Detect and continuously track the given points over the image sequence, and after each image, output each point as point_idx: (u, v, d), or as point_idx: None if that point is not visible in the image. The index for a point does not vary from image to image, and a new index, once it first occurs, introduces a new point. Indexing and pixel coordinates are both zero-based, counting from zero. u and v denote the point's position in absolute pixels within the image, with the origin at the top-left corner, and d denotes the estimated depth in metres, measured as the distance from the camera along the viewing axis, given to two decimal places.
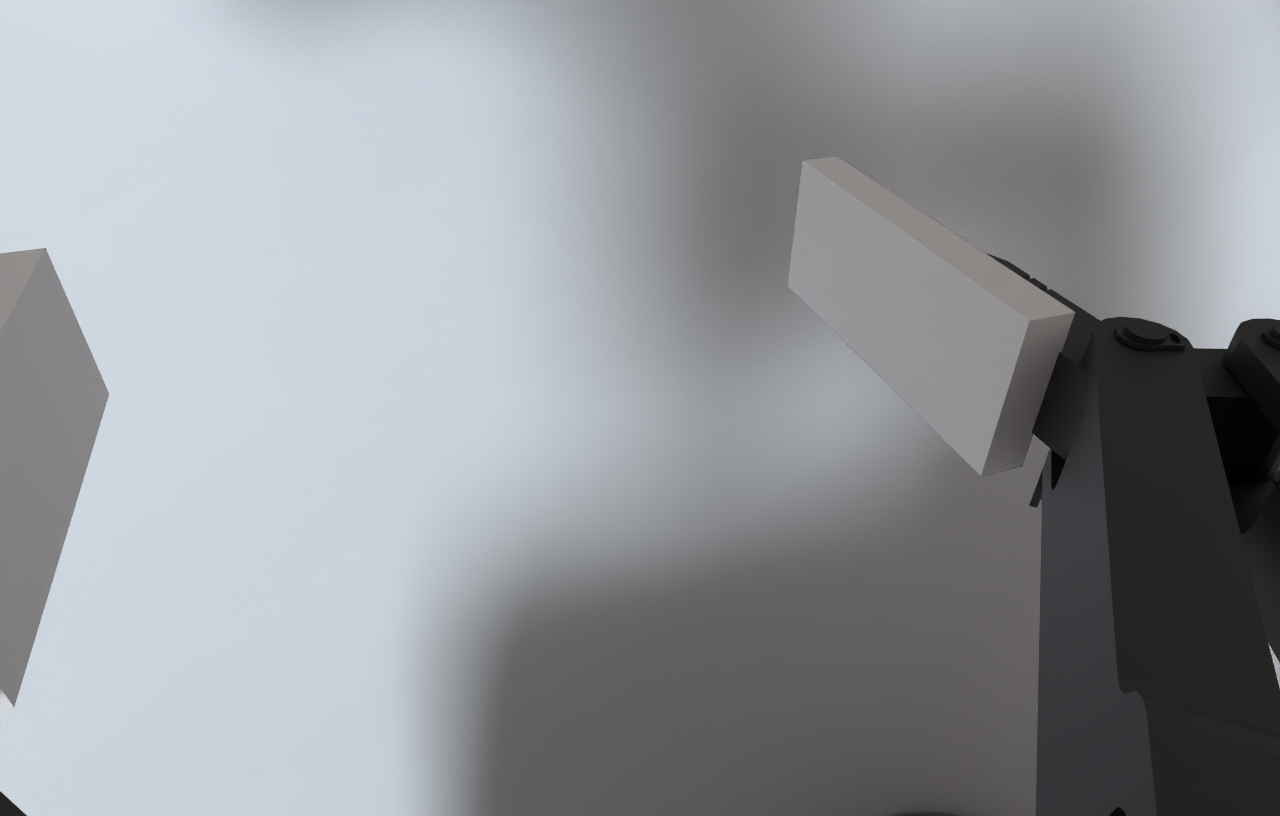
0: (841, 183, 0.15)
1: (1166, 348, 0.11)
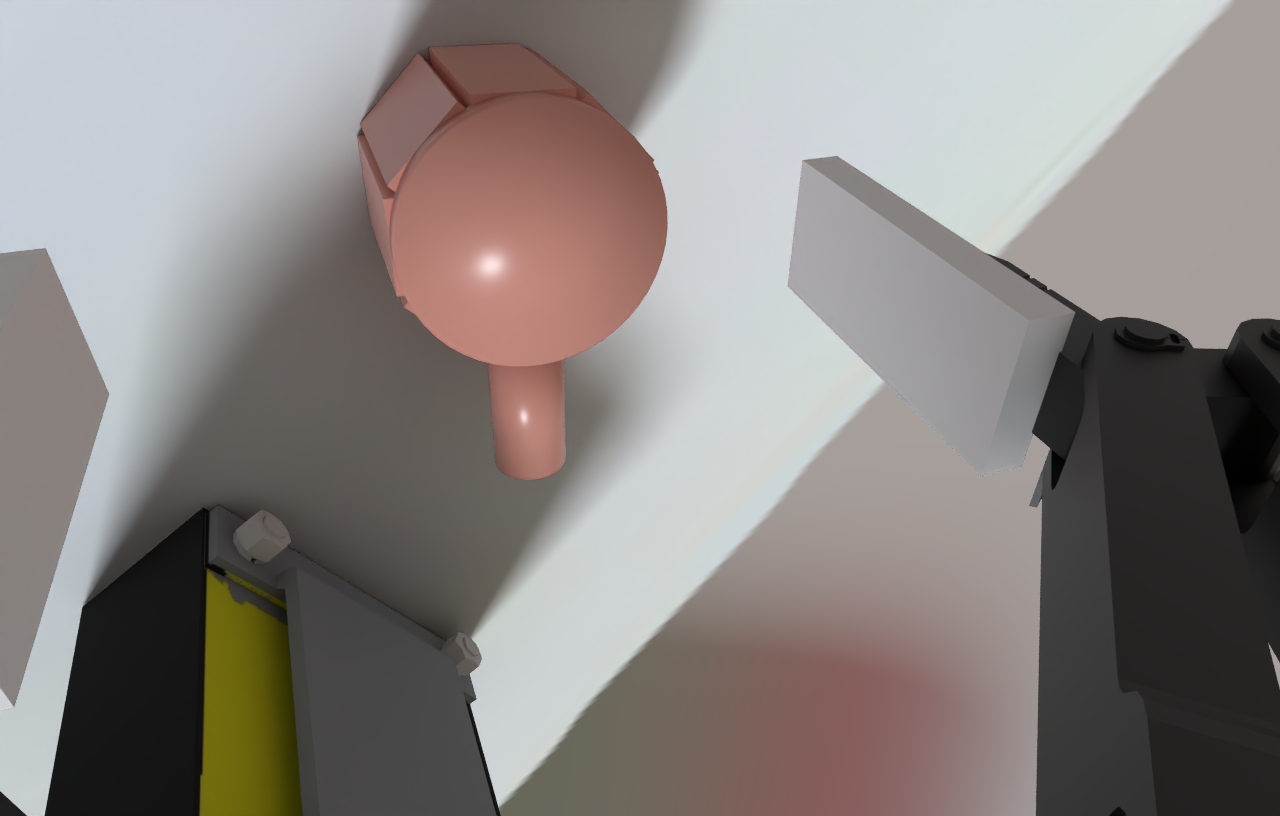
0: (841, 183, 0.15)
1: (1166, 348, 0.11)
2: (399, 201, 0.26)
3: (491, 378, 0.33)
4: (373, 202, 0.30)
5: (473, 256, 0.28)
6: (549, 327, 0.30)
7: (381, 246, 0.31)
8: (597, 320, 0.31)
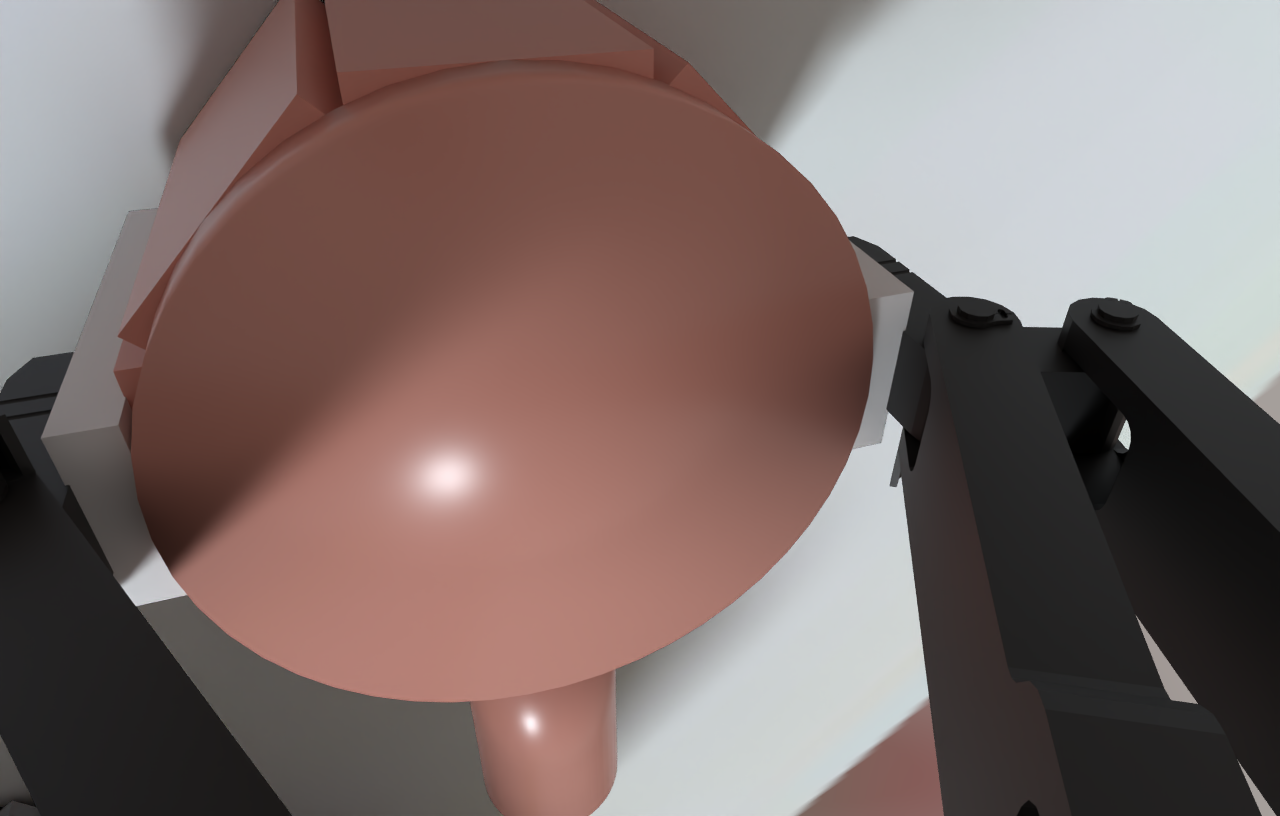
0: None
1: (997, 323, 0.12)
2: None
3: None
4: None
5: (377, 503, 0.10)
6: (580, 619, 0.13)
7: None
8: (691, 592, 0.13)
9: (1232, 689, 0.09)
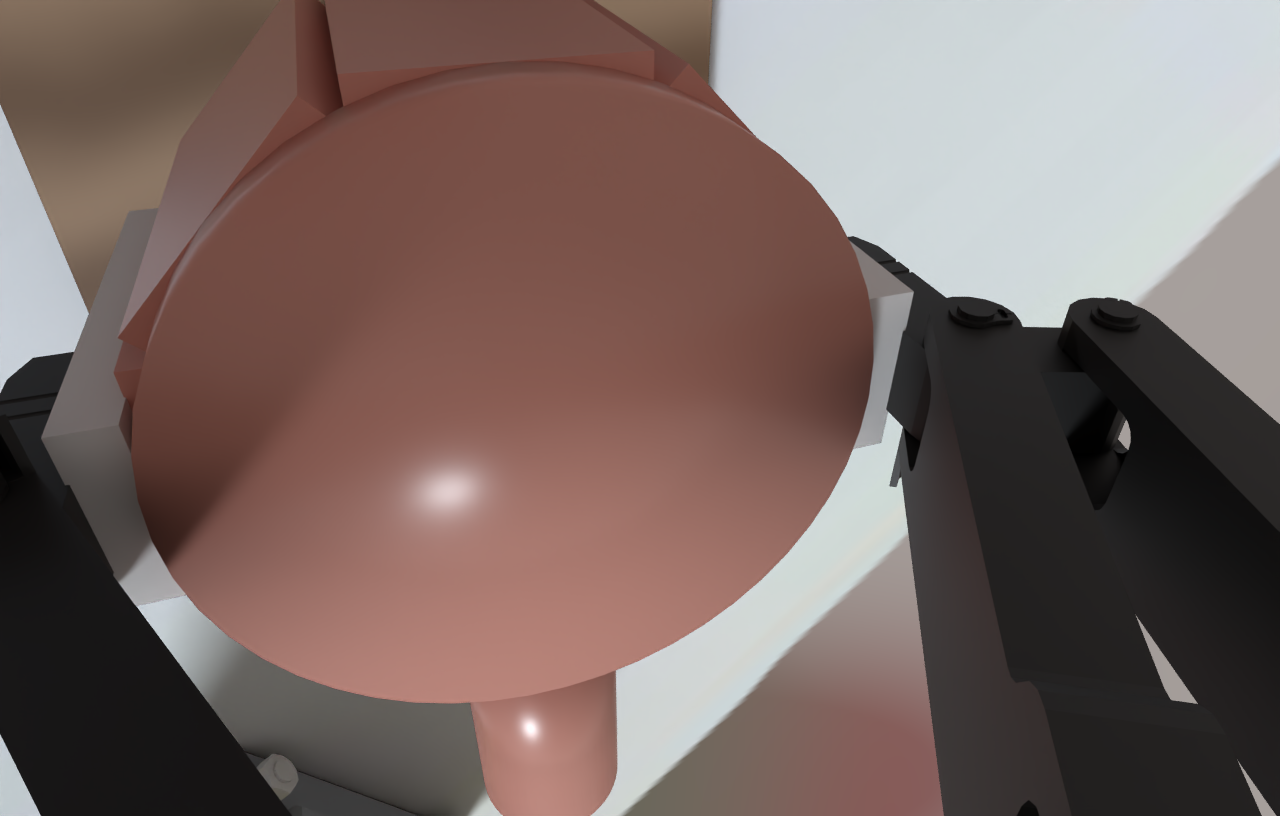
0: None
1: (997, 323, 0.12)
2: (137, 392, 0.09)
3: None
4: None
5: (377, 505, 0.10)
6: (581, 621, 0.13)
7: None
8: (691, 593, 0.13)
9: (1232, 689, 0.09)
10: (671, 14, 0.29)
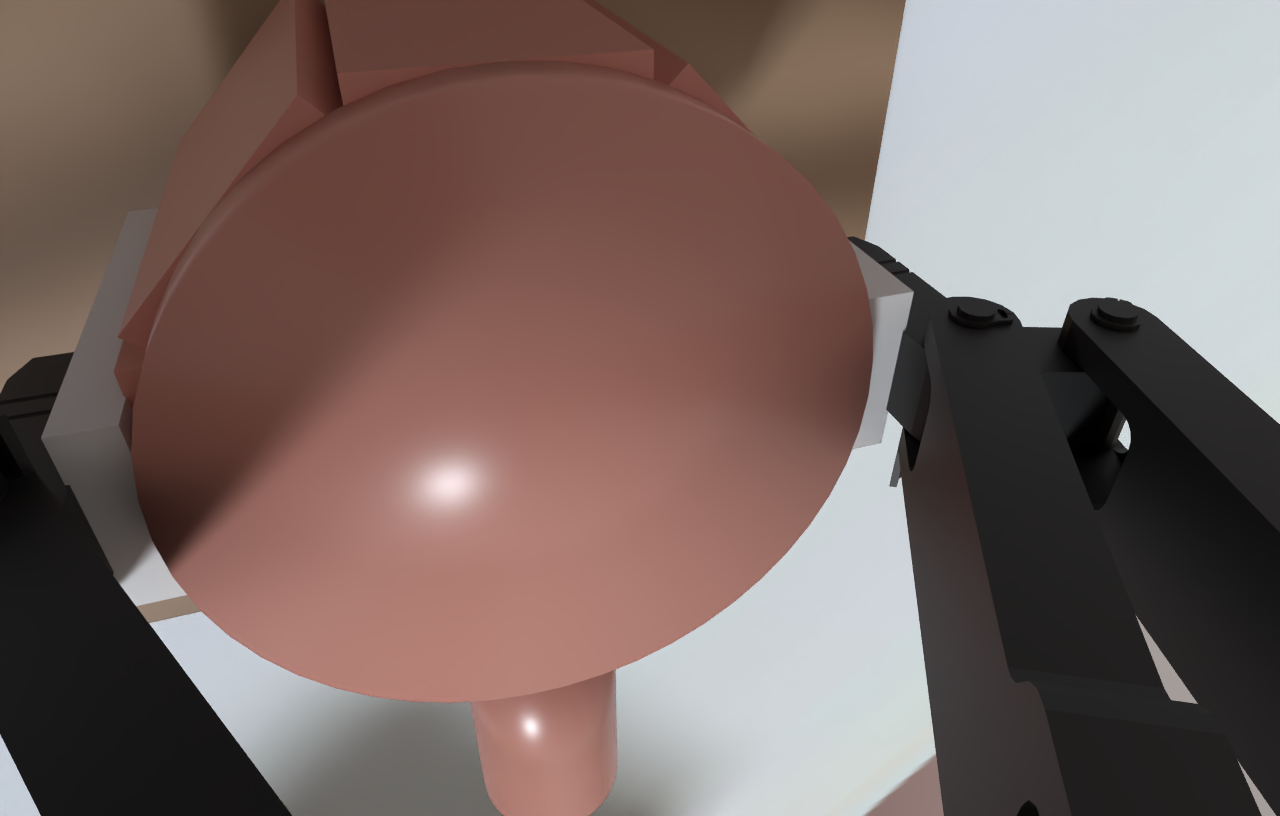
0: None
1: (997, 322, 0.12)
2: (137, 391, 0.09)
3: None
4: None
5: (377, 504, 0.11)
6: (580, 620, 0.13)
7: None
8: (691, 593, 0.13)
9: (1232, 689, 0.09)
10: (835, 100, 0.21)
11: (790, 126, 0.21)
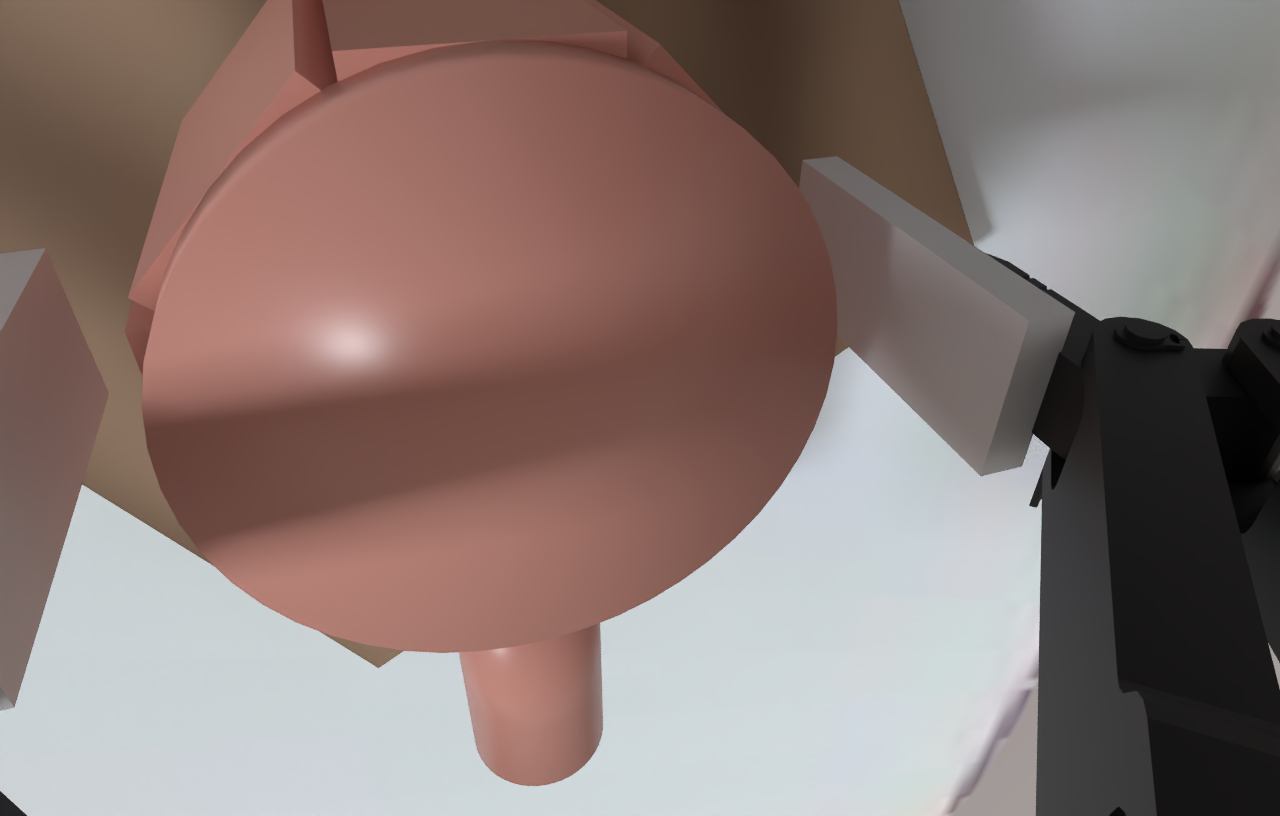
0: (840, 184, 0.15)
1: (1167, 347, 0.11)
2: (146, 346, 0.10)
3: None
4: None
5: (370, 457, 0.11)
6: (563, 574, 0.14)
7: None
8: (669, 550, 0.14)
9: None
10: None
11: None
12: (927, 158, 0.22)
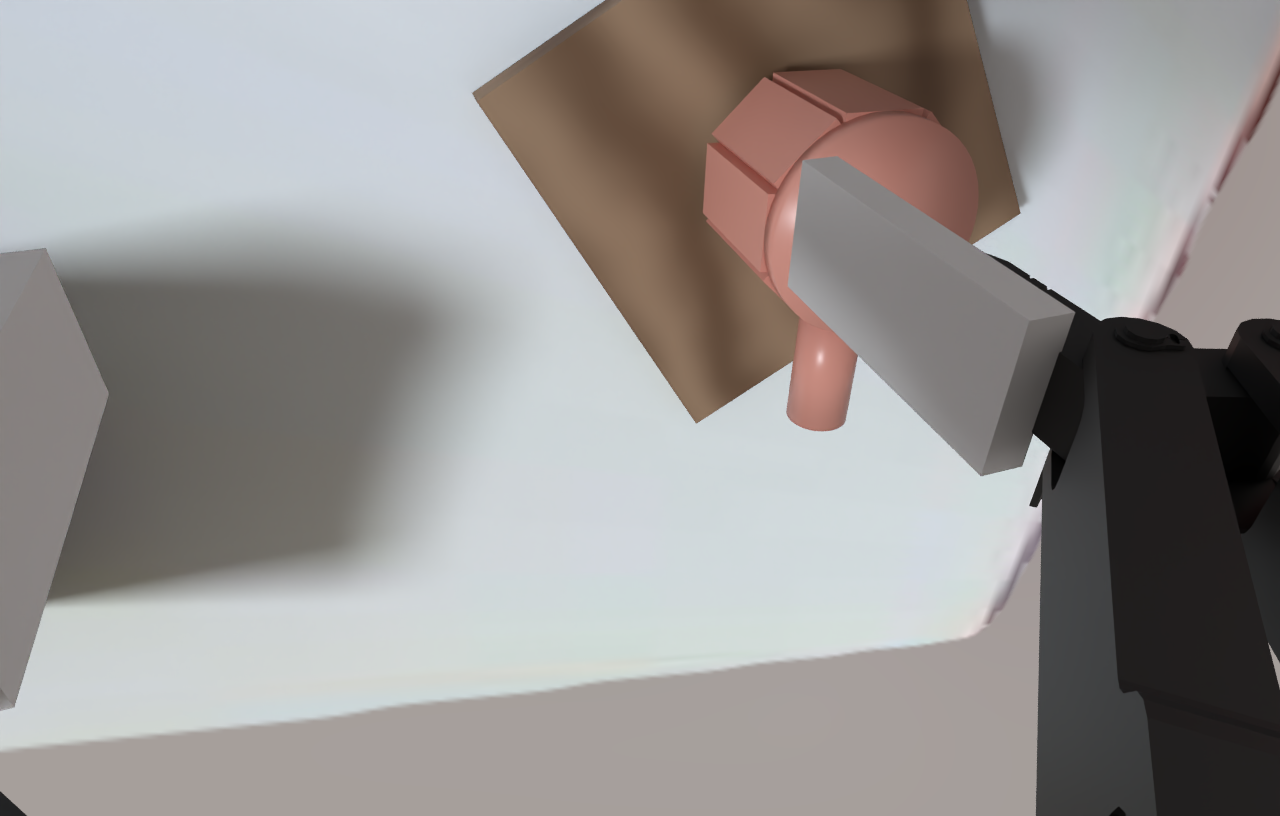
0: (840, 183, 0.15)
1: (1167, 347, 0.11)
2: (786, 196, 0.33)
3: (802, 344, 0.40)
4: (729, 197, 0.38)
5: None
6: None
7: (732, 232, 0.38)
8: None
9: None
10: None
11: None
12: (997, 159, 0.46)
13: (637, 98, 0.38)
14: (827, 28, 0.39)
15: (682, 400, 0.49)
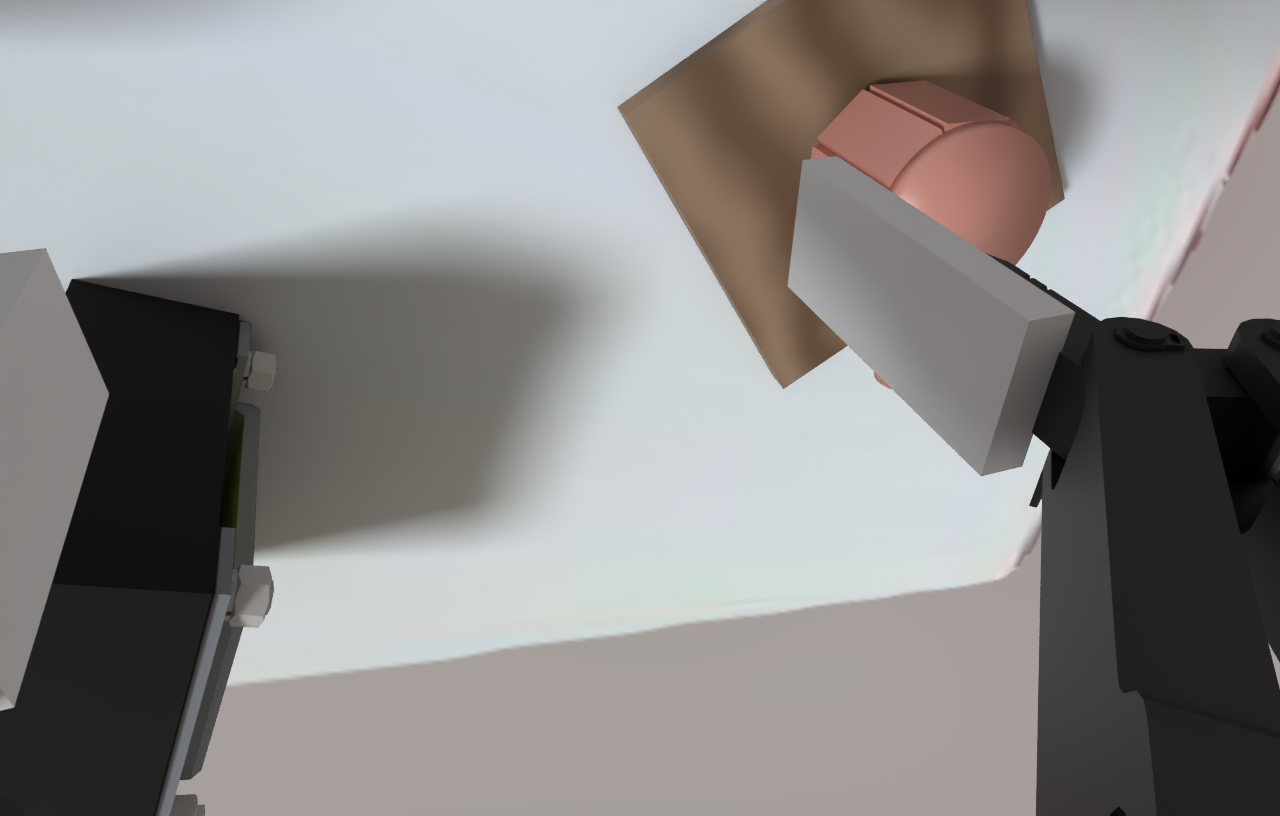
0: (840, 183, 0.15)
1: (1166, 348, 0.11)
2: (899, 193, 0.40)
3: None
4: None
5: None
6: None
7: None
8: None
9: None
10: None
11: None
12: (1047, 153, 0.53)
13: (755, 109, 0.45)
14: (914, 45, 0.46)
15: (773, 368, 0.56)
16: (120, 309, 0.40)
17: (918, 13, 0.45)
